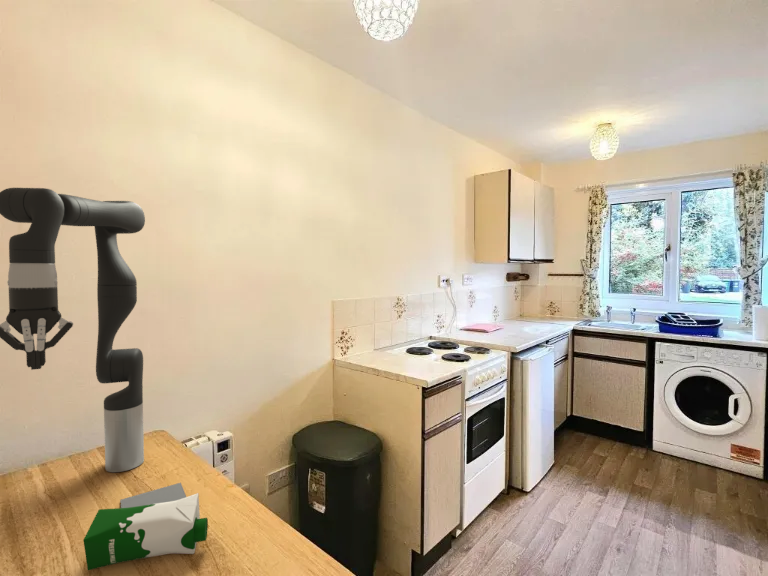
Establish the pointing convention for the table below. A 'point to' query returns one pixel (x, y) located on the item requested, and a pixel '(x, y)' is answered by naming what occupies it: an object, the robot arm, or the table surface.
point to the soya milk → (144, 532)
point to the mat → (155, 496)
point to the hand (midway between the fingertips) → (36, 368)
